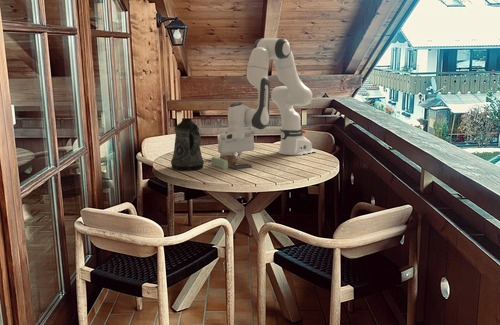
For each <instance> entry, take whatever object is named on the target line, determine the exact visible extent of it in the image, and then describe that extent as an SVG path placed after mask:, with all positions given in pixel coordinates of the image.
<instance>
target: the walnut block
mask: <svg viewBox="0 0 500 325" xmlns="http://www.w3.org/2000/svg"><path fill="white" fill-rule="evenodd" d="M219 156H220V155H219ZM236 157H237V155H235V156H233V155H221V156H220V157H219V158H221V159H224V160H227V161H228V168H230V166H231V165H237V160H236Z"/></svg>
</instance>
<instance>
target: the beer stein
mask: <svg viewBox="0 0 500 325" xmlns="http://www.w3.org/2000/svg"><path fill="white" fill-rule="evenodd" d="M173 129H174V133H175V140H174V147H173V153H172V158H171V161H170V164H171V167H172V170H173V169H174V171H176V172H177V171H179V172H193V171H194V172H195V171H199V170H201V169H203V168H204V163H205V161H204V159H203V156H202V152H201V151H202V150H201V141H202V136H201V134H200V131H199V130H200V128H199V126H198V125H197V124H196V123H195V122H194V121H193V120H192V118H183V119H181V121H180V122H179V123H177V124H176V125H175V127H174V128H173Z"/></svg>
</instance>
